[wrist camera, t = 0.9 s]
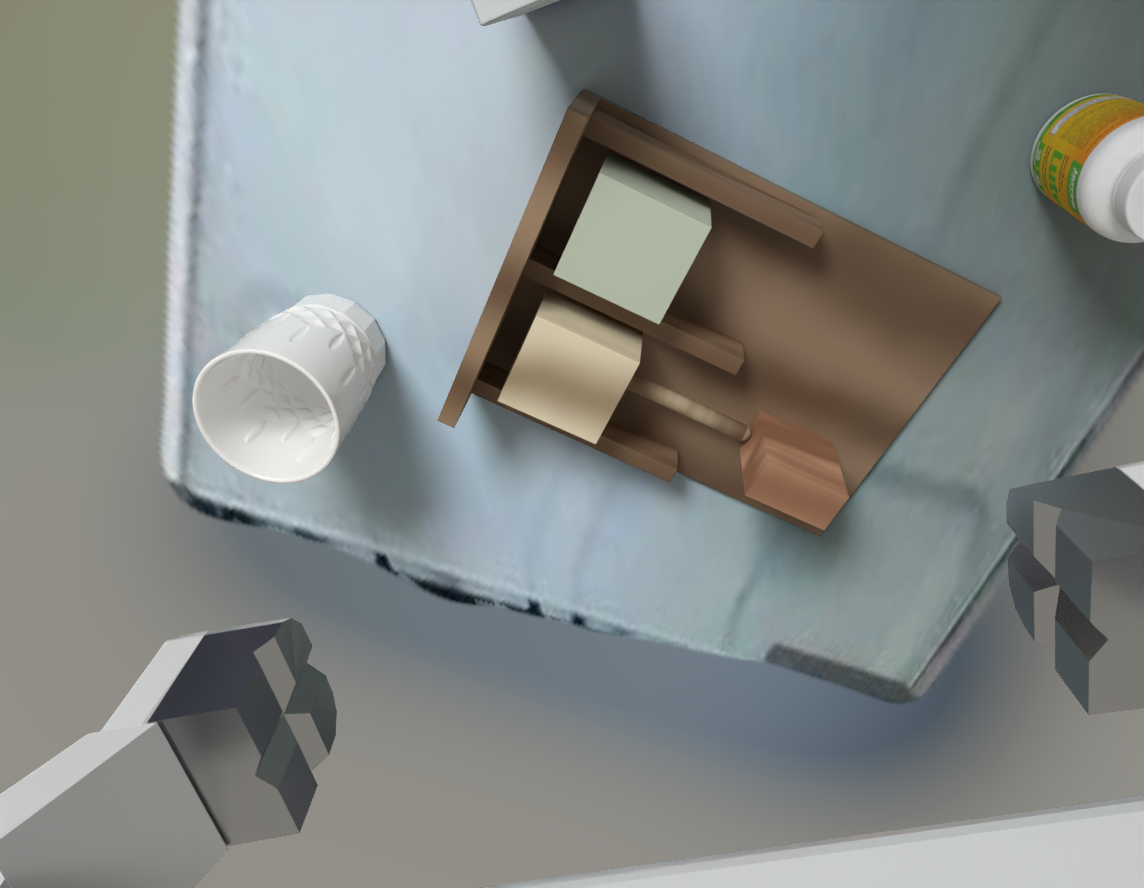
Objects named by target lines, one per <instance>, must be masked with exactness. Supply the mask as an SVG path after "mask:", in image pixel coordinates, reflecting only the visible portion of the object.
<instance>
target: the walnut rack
mask: <svg viewBox="0 0 1144 888" xmlns="http://www.w3.org/2000/svg"><path fill="white" fill-rule="evenodd" d="M608 152H610V153H612V154H614V155H616V156H618V157H620V158H622V159H624V160H626V161H628V162H630V163H633V164H635V165H637V166H639V167H641V168H643V169H645V170H647V171H649V172H651V173H653V174H655V175H657V176H659V177H661V178H663V179H665V180H667V181H669V182H671V183H673V184H675V185H677V186H679V187H681V188H683V189H685V190H687V191H690V192H692V193H694V194H696V195H698V196H700V197H702V198H704V199H706V200H708V201H710V209H711V226H712V228H711V230H710V231H709V233H708V235H707V237H706V239H705V241H704V243H703V244H702V246H701V248H700V250H699V252H698V254H697V255H696V257H695V259H694V261H693V263H692V265H691V267H690V268H689V270H688V272H687V274H686V276H685V278H684V280H683V281H682V283H681V285H680V287H679V289H678V291H677V292H676V294H675V296H674V298H673V300H672V302H671V304H670V305H669V307H668V309H667V311H666V313H665V315H664V316H663V318H662V320H661V322H660V324H657V323H655V322H653V321H651V320H648V319H646V318H644V317H642V316H640V315H638V314H636V313H634V312H631V311H629V310H627V309H625V308H623V307H621V306H619V305H617V304H614V303H612V302H610V301H608V300H606V299H604V298H602V297H600V296H597V295H595V294H593V293H591V292H589V291H587V290H585V289H583V288H581V287H578V286H576V285H574V284H572V283H570V282H568V281H566V280H564V279H561V278H559V277H557V276H555V275H553V274H554V272H555V270H556V267H557V265H558V263H559V260H560V258H561V256H562V254H563V251H564V249H565V247H566V244H567V242H568V240H569V238H570V236H571V233H572V231H573V229H574V227H575V225H576V222H577V220H578V218H579V216H580V213H581V211H582V209H583V207H584V205H585V202H586V200H587V198H588V196H589V194H590V191H591V189H592V187H593V185H594V183H595V180H596V178H597V176H598V174H599V172H600V169H601V167H602V165H603V163H604V160H605V158H606V156H607V154H608ZM547 287H549V288H551V289H553V290H555V291H557V292H560V293H562V294H564V295H566V296H568V297H570V298H572V299H574V300H577V301H579V302H581V303H583V304H585V305H587V306H589V307H592V308H594V309H596V310H598V311H600V312H602V313H604V314H606V315H609V316H611V317H613V318H615V319H617V320H619V321H621V322H623V323H626V324H628V325H630V326H632V327H634V328H636V329H638V330H641V331H643V336H642V346H641V356H640V364H639V366H638V367H637V369H636V371H635V373H634V374H636V375H638V376H640V377H643V378H645V379H647V380H649V381H651V382H654V383H656V384H658V385H660V386H662V387H665V388H667V389H669V390H671V391H673V392H676V393H678V394H680V395H682V396H684V397H687V398H689V399H691V400H693V401H695V402H698V403H700V404H702V405H704V406H706V407H708V408H711V409H713V410H715V411H717V412H719V413H722V414H724V415H726V416H728V417H730V418H733V419H735V420H737V421H739V422H741V423H744V424H746V425H748V426H749V425H750V423H751V422H752V420H753V419H754V417H755V416H756V414H757V412H758V411H759V409H760V410H763V411H765V412H767V413H769V414H771V415H773V416H776V417H778V418H780V419H782V420H784V421H787V422H789V423H791V424H793V425H795V426H797V427H800V428H802V429H804V430H806V431H808V432H811V433H813V434H815V435H817V436H819V437H821V438H824V439H826V440H828V441H830V442H832V443H833V445H834V449H835V452H836V455H837V459H838V462H839V465H840V469H841V472H842V475H843V478H844V482H845V485H846V488H847V492H848V495H849V497H850V496H851V495H852V493H853V492H854V491H855V490H856V488H857V487H858V486H859V484H860V483H861V482H862V480H863V479H864V478H865V476H866V475H867V474H868V472H869V471H870V470H871V469H872V467H873V466H874V465H875V463H876V462H877V461H878V459H879V458H880V457H881V455H882V454H883V453H884V451H885V450H886V449H887V448H888V446H889V445H890V444H891V442H892V441H893V440H894V438H895V437H896V436H897V434H898V433H899V432H900V430H901V429H902V428H903V427H904V425H905V424H906V423H907V421H908V420H909V419H910V417H911V416H912V415H913V413H914V412H915V411H916V409H917V408H918V407H919V406H920V404H921V403H922V402H923V400H924V399H925V398H926V396H927V395H928V394H929V392H930V391H931V390H932V389H933V387H934V386H935V385H936V383H937V382H938V381H939V379H940V378H941V377H942V375H943V374H944V373H945V371H946V370H947V369H948V368H949V366H950V365H951V364H952V362H953V361H954V360H955V358H956V357H957V356H958V354H959V353H960V352H961V350H962V349H963V348H964V347H965V345H966V344H967V343H968V341H969V340H970V339H971V337H972V336H973V335H974V333H975V332H976V331H977V329H978V328H979V327H980V326H981V324H982V323H983V322H984V320H985V319H986V318H987V316H988V315H989V314H990V312H991V311H992V310H993V308H994V307H995V306H996V305H997V303H998V302H999V301H1000V299H1001V297H1000V296H999V295H997V294H995V293H993V292H991V291H989V290H987V289H985V288H983V287H981V286H979V285H977V284H975V283H973V282H971V281H969V280H967V279H965V278H963V277H961V276H959V275H957V274H955V273H953V272H951V271H949V270H947V269H945V268H943V267H941V266H939V265H937V264H935V263H933V262H931V261H929V260H927V259H925V258H923V257H921V256H919V255H917V254H915V253H913V252H911V251H909V250H907V249H905V248H903V247H901V246H899V245H897V244H895V243H893V242H891V241H889V240H887V239H885V238H883V237H881V236H879V235H877V234H875V233H873V232H871V231H869V230H867V229H864V228H862V227H860V226H858V225H856V224H854V223H852V222H850V221H848V220H846V219H844V218H842V217H840V216H838V215H836V214H834V213H832V212H830V211H828V210H826V209H824V208H822V207H820V206H818V205H816V204H814V203H812V202H810V201H808V200H806V199H804V198H802V197H800V196H798V195H796V194H794V193H792V192H790V191H788V190H786V189H784V188H782V187H780V186H778V185H776V184H774V183H772V182H770V181H768V180H766V179H764V178H762V177H760V176H758V175H756V174H754V173H752V172H750V171H748V170H746V169H744V168H742V167H740V166H738V165H736V164H734V163H732V162H730V161H728V160H726V159H724V158H722V157H720V156H718V155H716V154H714V153H712V152H710V151H708V150H706V149H704V148H702V147H700V146H698V145H696V144H694V143H692V142H690V141H688V140H686V139H684V138H682V137H680V136H678V135H676V134H674V133H672V132H670V131H668V130H666V129H664V128H662V127H660V126H658V125H656V124H654V123H652V122H650V121H648V120H646V119H644V118H642V117H640V116H638V115H636V114H634V113H632V112H630V111H628V110H626V109H624V108H622V107H620V106H618V105H615V104H613V103H611V102H609V101H607V100H605V99H603V98H601V97H599V96H597V95H595V94H593V93H591V92H589V91H587V90H585V89H583V90H582V91H581V92H580V93H579V95H578V96H577V97H576V98H575V100H574V101H573V102H572V103H571V105H570V106H569V107H568V109H567V111H566V113H565V116H564V118H563V121H562V123H561V125H560V128H559V130H558V133H557V135H556V137H555V140H554V142H553V145H552V147H551V149H550V152H549V154H548V157H547V159H546V161H545V164H544V166H543V169H542V171H541V173H540V176H539V178H538V181H537V183H536V185H535V188H534V190H533V193H532V195H531V197H530V200H529V202H528V205H527V207H526V209H525V212H524V214H523V217H522V219H521V221H520V224H519V226H518V229H517V231H516V233H515V236H514V238H513V241H512V243H511V245H510V248H509V250H508V253H507V255H506V257H505V260H504V262H503V265H502V267H501V269H500V272H499V274H498V277H497V279H496V281H495V284H494V286H493V289H492V291H491V293H490V296H489V298H488V301H487V303H486V305H485V308H484V310H483V313H482V315H481V317H480V320H479V322H478V325H477V327H476V329H475V332H474V334H473V337H472V339H471V341H470V344H469V346H468V349H467V351H466V353H465V356H464V358H463V361H462V363H461V365H460V368H459V370H458V373H457V375H456V377H455V380H454V382H453V385H452V387H451V389H450V392H449V394H448V397H447V399H446V401H445V404H444V406H443V409H442V411H441V413H440V416H439V418H438V421H440V422H442V423H444V424H446V425H448V426H451V427H453V428H454V427H455V425H456V423H457V421H458V419H459V417H460V415H461V413H462V411H463V409H464V407H465V405H466V403H467V401H468V399H469V397H470V395H471V393H472V394H475V395H477V396H479V397H481V398H484V399H486V400H488V401H490V402H492V403H495V404H497V405H499V406H501V407H504V408H506V409H508V410H510V411H512V412H515V413H517V414H519V415H521V416H524V417H526V418H528V419H530V420H532V421H535V422H537V423H539V424H541V425H543V426H546V427H548V428H550V429H552V430H555V431H557V432H559V433H561V434H563V435H566V436H568V437H570V438H572V439H575V440H577V441H579V442H581V443H583V444H586V445H588V446H590V447H592V448H595V449H597V450H599V451H601V452H603V453H606V454H608V455H610V456H612V457H615V458H617V459H619V460H621V461H623V462H626V463H628V464H630V465H632V466H634V467H637V468H639V469H641V470H643V471H646V472H648V473H650V474H652V475H654V476H657V477H659V478H661V479H663V480H666V481H668V482H670V481H671V479H672V477H673V476H674V474H675V472H679V473H681V474H683V475H685V476H688V477H690V478H692V479H694V480H696V481H699V482H701V483H703V484H705V485H707V486H710V487H712V488H714V489H716V490H718V491H721V492H723V493H725V494H727V495H730V496H732V497H734V498H736V499H738V500H741V501H743V502H745V503H747V504H749V505H752V506H754V507H756V508H758V509H760V510H763V511H765V512H767V513H769V514H772V515H774V516H776V517H778V518H780V519H783V520H785V521H787V522H789V523H791V524H794V525H796V526H798V527H800V528H802V529H805V530H807V531H809V532H811V533H814V534H816V535H818V536H820V535H821V534H822V533H823V532H824V530H822V529H820V528H817V527H815V526H813V525H811V524H808V523H806V522H804V521H802V520H799V519H797V518H795V517H793V516H790V515H788V514H786V513H784V512H781V511H779V510H777V509H775V508H772V507H770V506H768V505H766V504H763V503H761V502H759V501H757V500H754V499H752V498H750V497H748V496H745V491H744V483H743V474H742V465H741V456H740V448H739V440H738V439H736V438H733V437H731V436H729V435H727V434H725V433H722V432H720V431H718V430H716V429H713V428H711V427H709V426H707V425H705V424H702V423H700V422H698V421H696V420H694V419H691V418H689V417H687V416H685V415H683V414H680V413H678V412H676V411H674V410H672V409H669V408H667V407H665V406H663V405H660V404H658V403H656V402H654V401H652V400H649V399H647V398H645V397H643V396H641V395H638V394H636V393H634V392H632V391H630V390H627V389H626V390H625V391H624V393H623V395H622V397H621V399H620V401H619V402H618V404H617V406H616V408H615V410H614V412H613V413H612V415H611V417H610V419H609V421H608V423H607V425H606V426H605V428H604V430H603V432H602V434H601V436H600V437H599V439H598V441H597V443H596V444H594V443H592V442H589V441H587V440H585V439H583V438H580V437H578V436H576V435H574V434H571V433H569V432H567V431H565V430H562V429H560V428H558V427H555V426H553V425H551V424H549V423H546V422H544V421H542V420H540V419H537V418H535V417H533V416H531V415H528V414H526V413H524V412H522V411H519V410H517V409H515V408H513V407H510V406H508V405H506V404H503V403H501V402H499V401H498V399H499V396H500V394H501V391H502V389H503V386H504V384H505V381H506V379H507V376H508V374H509V371H510V369H511V366H512V364H513V361H514V359H515V357H516V355H517V353H518V350H519V348H520V346H521V344H522V342H523V339H524V337H525V335H526V333H527V331H528V328H529V326H530V324H531V322H532V320H533V317H534V315H535V313H536V311H537V308H538V306H539V304H540V302H541V300H542V297H543V295H544V293H545V291H546V289H547ZM848 499H849V498H848ZM845 503H846V502H845ZM842 507H843V506H842ZM839 511H840V510H839ZM835 516H836V515H835ZM832 520H833V519H832ZM829 524H830V523H829ZM826 528H827V527H826Z"/></svg>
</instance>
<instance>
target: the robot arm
mask: <svg viewBox="0 0 1144 888" xmlns="http://www.w3.org/2000/svg"><path fill="white" fill-rule="evenodd" d="M1006 515H1007V524H1008V525H1009V527H1010V528H1011V529H1012V530H1013V531H1014V533H1015V534H1016V535H1017V536H1018V537H1019V539H1020V541H1019V542H1018V544H1017V545H1016V547H1015V548H1014V549H1013V551H1012V552H1011V553H1010V555H1009V556H1008V558H1007V560H1008V577H1009V586H1010V589H1011V594H1012V597H1013V601H1014V605H1015V609H1016V610H1017V612H1018V615H1019V617H1020V619H1021V621H1022V623H1023V625H1024V627H1025V628H1026V630H1027V631H1028V633H1029V634H1030V635H1031V637H1032V638H1033V640H1034V641H1035V642H1037V643H1039V644H1042V645H1044V646H1046V647H1048V648H1050V649H1053V650H1055V670H1056V671H1057V673H1058V674H1059V676H1060V677H1061V678H1062V680H1063V681H1064V682H1065V684H1066V685H1067V686H1068V688H1069V689H1070V690H1071V692H1072V693H1073V694H1074V696H1075V697H1076V699H1077V700H1078V701H1079V703H1080V704H1081V705H1082V707H1083V708H1084V709H1085V711H1086V712H1087V713H1088V714H1089V715H1090V714H1098V713H1105V712H1114V711H1123V710H1130V709H1138V708H1144V461H1139V462H1135V463H1130V464H1126V465H1121V466H1117V467H1112V468H1108V469H1104V470H1099V471H1094V472H1089V473H1084V474H1079V475H1075V476H1070V477H1065V478H1060V479H1055V480H1050V481H1045V482H1041V483H1036V484H1031V485H1026V486H1021V487H1017V488H1012V489H1010V490H1009V494H1008V498H1007V502H1006ZM311 649H312V644H311V642H310V640H309V638H308V636H307V634H306V632H305V630H304V627H303V626H302V624H301V623H299V622H298V621H296V620H294V619H292V618H288V619H282V620H274V621H269V622H262V623H256V624H250V625H243V626H238V627H231V628H225V629H218V630H215V631H204V632H199V633H194V634H189V635H184V636H179V637H176V638H173V639H171V640H168V641H166V642H165V643H164V645H163V646H162V647H161V649H160V650H159V651H158V653H157V654H156V656H155V657H154V658H153V660H152V661H151V663H150V664H149V665H148V667H147V668H146V670H145V671H144V672H143V674H142V675H141V676H140V678H139V679H138V680H137V682H136V683H135V685H134V686H133V688H132V689H131V690H130V692H129V693H128V694H127V696H126V697H125V698H124V700H123V701H122V703H121V704H120V705H119V707H118V708H117V710H116V711H115V712H114V714H113V715H112V717H111V718H110V719H109V721H108V722H107V724H106V725H105V726H104V728H103V729H102V730H101V732H96V733H90V734H87V735H86V736H84V737H83V738H81V739H80V740H79V741H77V742H75V743H74V744H73V745H71V746H70V747H68V748H67V749H65V750H64V751H63V752H61V753H60V754H58V755H57V756H55V757H54V758H52V759H51V760H49V761H48V762H46V763H45V764H44V765H42V766H41V767H39V768H38V769H36V770H35V771H33V772H32V773H31V774H29V775H28V776H26V777H25V778H23V779H22V780H20V781H19V782H18V783H16V784H15V785H13V786H12V787H10V788H9V789H7V790H6V791H4V792H3V793H2V794H0V888H194V887H195V886H196V885H197V884H198V883H199V882H200V881H201V880H202V878H203V877H204V876H205V875H206V874H207V873H208V872H209V871H210V870H211V868H212V867H213V866H214V865H215V864H216V863H217V862H218V861H219V860H220V858H221V857H222V856H223V855H224V854H225V853H226V852H227V851H228V848H227V846H231V845H236V844H242V843H248V842H253V841H258V840H264V839H269V838H275V837H281V836H286V835H292V834H297V833H300V831H301V828H302V825H303V822H304V820H305V818H306V815H307V812H308V810H309V807H310V804H311V801H312V799H313V796H314V794H315V791H316V788H317V783H316V781H315V778H314V776H313V774H312V772H311V771H312V770H313V769H315V768H316V767H317V766H318V764H320V763H321V762H322V761H323V760H324V759H325V758H326V757H327V756H328V755H329V753H330V750H331V747H332V744H333V741H334V739H335V736H336V715H337V710H336V706H335V701H334V696H333V692H332V689H331V687H330V685H329V682H328V680H327V677H326V675H324V674H323V673H321V672H320V671H318V670H317V669H315V668H314V667H312V666H311V665H309V664H308V663H307V660H308V658H309V655H310V652H311ZM481 888H1144V796H1137V797H1130V798H1122V799H1115V800H1108V801H1100V802H1093V803H1086V804H1078V805H1072V806H1064V807H1057V808H1050V809H1043V810H1035V811H1028V812H1021V813H1014V814H1006V815H999V816H992V817H984V818H977V819H970V820H963V821H956V822H948V823H941V824H934V825H927V826H920V827H912V828H906V829H898V830H890V831H883V832H877V833H869V834H862V835H854V836H847V837H840V838H832V839H825V840H818V841H811V842H804V843H797V844H789V845H782V846H775V847H767V848H760V849H753V850H746V851H739V852H732V853H725V854H717V855H710V856H703V857H696V858H689V859H682V860H675V861H668V862H661V863H654V864H647V865H639V866H632V867H625V868H618V869H611V870H603V871H596V872H589V873H582V874H574V875H567V876H560V877H553V878H546V879H538V880H531V881H524V882H517V883H510V884H503V885H495V886H488V887H481Z"/></svg>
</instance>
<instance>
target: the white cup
mask: <svg viewBox="0 0 1144 888" xmlns="http://www.w3.org/2000/svg"><path fill="white" fill-rule="evenodd" d="M385 364H386V350H385V339H384V337H383V335H382V333H381V331H380V329H379V327H378V325H377V323H376V321H375V319H374V318H373V317H372V316H371V315H369V314H368V313H367V312H366V311H365V310H364V309H363V308H361V307H360V306H359V305H358V304H357V303H356V302H354V301H351V300H348V299H345V298H343V297H340V296H337V295H334V294H331V293H330V294H319V295H308V296H306V297H304V298H303V299H301V300H300V301H298V302H297V303H295V304H294V305H292V306H291V307H289V308H288V309H287V310H285V311H283V312H280V313H277V314H276V315H275V316H273V317H272V318H270V319H269V320H267V321H265V322H264V323H263V324H261V325H260V326H259V327H257V328H255V329H254V330H252V331H251V332H249V333H248V334H247V335H245V336H244V337H243V338H242V339H240V340H239V341H238V342H236V343H235V344H233V345H232V346H231V347H229V348H228V349H227V350H225V351H224V352H222V353H221V354H220V355H218V356H217V357H216V358H214V359H213V360H211V361H210V362H209V363H208V364H207V365H206V366H205V367H204V368H203V369H202V371H201V372H200V374H199V376H198V378H197V380H196V382H195V386H194V390H193V410H194V415H195V419H196V422H197V424H198V427H199V429H200V431H201V433H202V435H203V436H204V438H205V440H206V441H207V442H208V444H209V445H210V446H211V448H212V449H213V450H214V451H215V452H216V453H217V454H218V455H219V456H220V457H221V458H222V459H223V460H224V461H226V462H227V463H228V464H230V465H231V466H232V467H234V468H235V469H237V470H239V471H241V472H242V473H244V474H246V475H249V476H251V477H254V478H256V479H260V480H263V481H268V482H273V483H294V482H300V481H303V480H306V479H309V478H311V477H313V476H315V475H317V474H318V473H320V472H321V471H322V470H324V469H325V468H326V467H327V466H328V464H329V463H330V462H331V460H332V459H333V457H334V456H335V454H336V452H337V451H338V449H339V447H340V446H341V444H342V442H343V441H344V439H345V437H346V436H347V434H348V433H349V431H350V429H351V428H352V426H353V425H354V423H355V422H356V420H357V418H358V416H359V414H360V412H361V411H362V409H363V407H364V406H365V404H366V402H367V400H368V398H369V397H370V395H371V393H372V388H373V386H374V384H375V383H376V381H377V379H378V377H379V375H380V373H381V372H382V370H383V368H384V366H385Z"/></svg>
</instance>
